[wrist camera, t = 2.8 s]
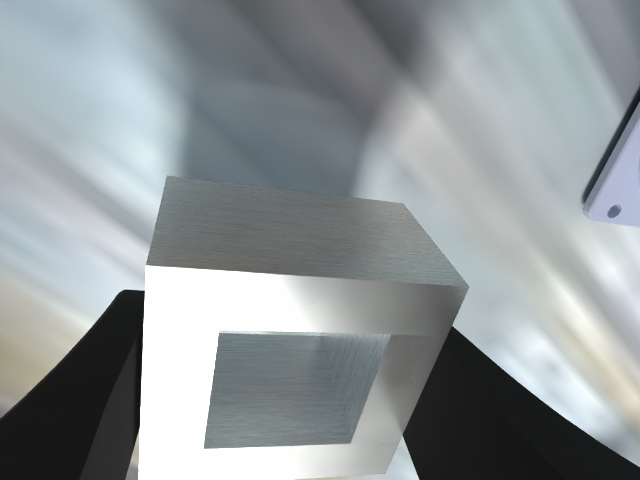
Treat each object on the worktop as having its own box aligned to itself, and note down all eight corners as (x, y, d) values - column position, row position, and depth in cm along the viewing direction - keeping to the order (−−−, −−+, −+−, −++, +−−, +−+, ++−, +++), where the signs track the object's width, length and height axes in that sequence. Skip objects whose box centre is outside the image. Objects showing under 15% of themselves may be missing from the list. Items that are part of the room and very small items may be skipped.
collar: (403, 203, 11) (469, 286, 8) (349, 366, 14) (385, 473, 11) (167, 175, 10) (145, 265, 7) (156, 364, 12) (138, 488, 9)
